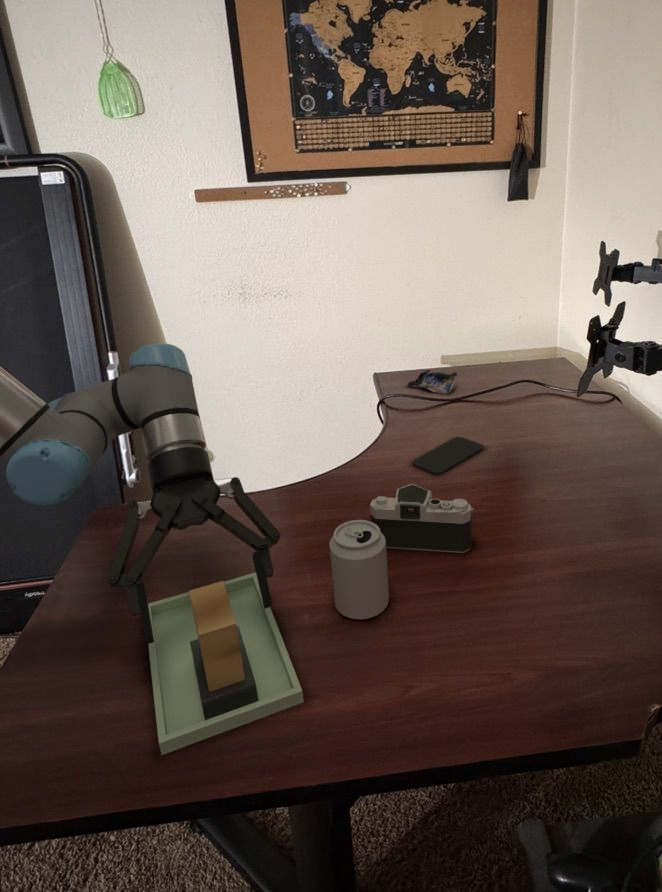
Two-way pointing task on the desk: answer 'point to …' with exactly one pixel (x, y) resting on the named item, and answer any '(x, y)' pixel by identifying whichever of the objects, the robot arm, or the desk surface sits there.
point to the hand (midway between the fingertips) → (211, 624)
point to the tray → (177, 674)
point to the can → (359, 569)
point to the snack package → (435, 381)
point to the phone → (447, 455)
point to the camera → (423, 521)
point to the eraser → (220, 654)
